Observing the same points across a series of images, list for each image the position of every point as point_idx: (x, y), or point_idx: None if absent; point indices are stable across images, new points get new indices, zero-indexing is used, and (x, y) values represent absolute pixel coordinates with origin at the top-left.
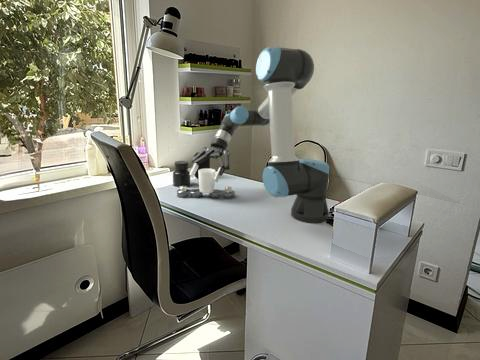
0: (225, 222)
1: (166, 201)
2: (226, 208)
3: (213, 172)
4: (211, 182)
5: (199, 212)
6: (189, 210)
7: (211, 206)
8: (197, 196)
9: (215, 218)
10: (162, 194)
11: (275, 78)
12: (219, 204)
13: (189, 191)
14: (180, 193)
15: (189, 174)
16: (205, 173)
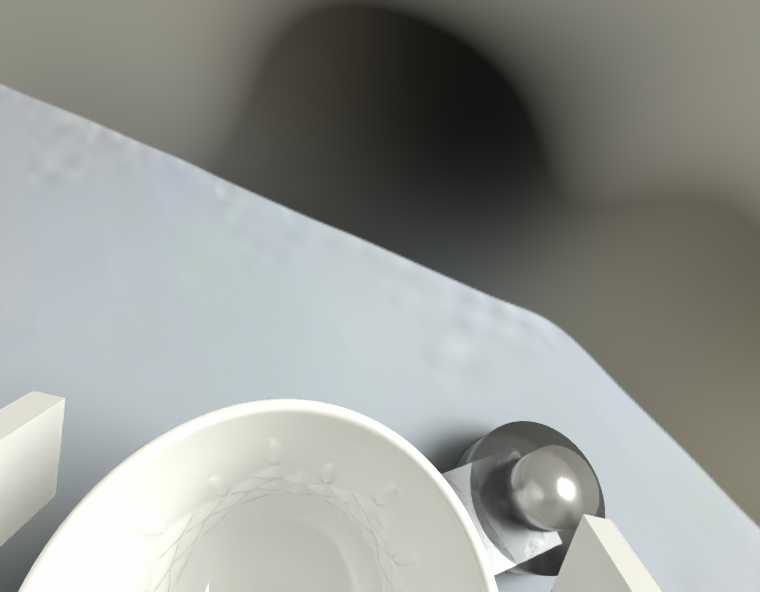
0: (17, 112)
1: (536, 319)
2: (7, 315)
3: (40, 563)
4: (164, 534)
5: (225, 203)
6: (303, 217)
7: (159, 321)
8: None
9: (92, 146)
10: (681, 457)
11: None
12: (86, 388)
13: (467, 491)
14: (520, 424)
15: (606, 521)
16: (243, 409)
